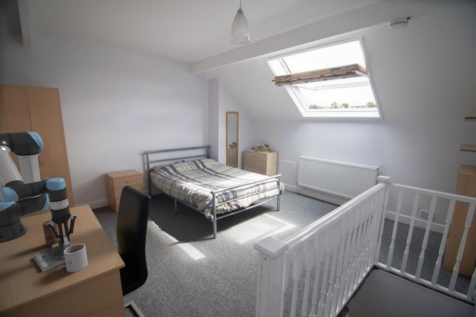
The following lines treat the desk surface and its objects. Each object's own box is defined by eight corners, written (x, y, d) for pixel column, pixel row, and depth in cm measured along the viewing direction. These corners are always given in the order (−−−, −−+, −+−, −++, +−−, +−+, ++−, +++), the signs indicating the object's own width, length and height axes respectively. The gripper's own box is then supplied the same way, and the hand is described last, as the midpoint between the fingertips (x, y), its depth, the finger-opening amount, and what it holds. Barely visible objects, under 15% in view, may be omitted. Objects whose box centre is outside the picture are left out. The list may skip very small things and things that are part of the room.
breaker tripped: (52, 254, 116) (51, 245, 115) (59, 251, 119) (58, 242, 118) (54, 256, 115) (52, 247, 114) (61, 253, 117) (59, 244, 116)
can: (52, 247, 125) (48, 225, 122) (43, 246, 126) (39, 224, 123) (62, 241, 130) (59, 220, 128) (54, 240, 132) (50, 219, 129)
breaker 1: (57, 247, 122) (56, 239, 121) (64, 244, 125) (62, 236, 124) (59, 249, 121) (57, 241, 120) (65, 246, 123) (64, 238, 122)
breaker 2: (64, 254, 116) (62, 246, 115) (70, 252, 118) (69, 243, 117) (66, 256, 114) (64, 248, 113) (72, 254, 117) (71, 245, 116)
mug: (89, 265, 110) (87, 248, 108) (69, 274, 104) (65, 256, 102) (83, 255, 118) (80, 238, 116) (63, 263, 112) (60, 245, 110)
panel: (33, 258, 116) (32, 254, 115) (69, 244, 128) (69, 240, 128) (42, 271, 106) (41, 267, 105) (81, 255, 118) (80, 251, 118)
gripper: (46, 213, 108) (53, 255, 113) (77, 204, 118) (82, 244, 123) (41, 209, 112) (49, 250, 117) (71, 201, 122) (77, 239, 127)
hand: (66, 247), depth 120 cm, fingers closed
